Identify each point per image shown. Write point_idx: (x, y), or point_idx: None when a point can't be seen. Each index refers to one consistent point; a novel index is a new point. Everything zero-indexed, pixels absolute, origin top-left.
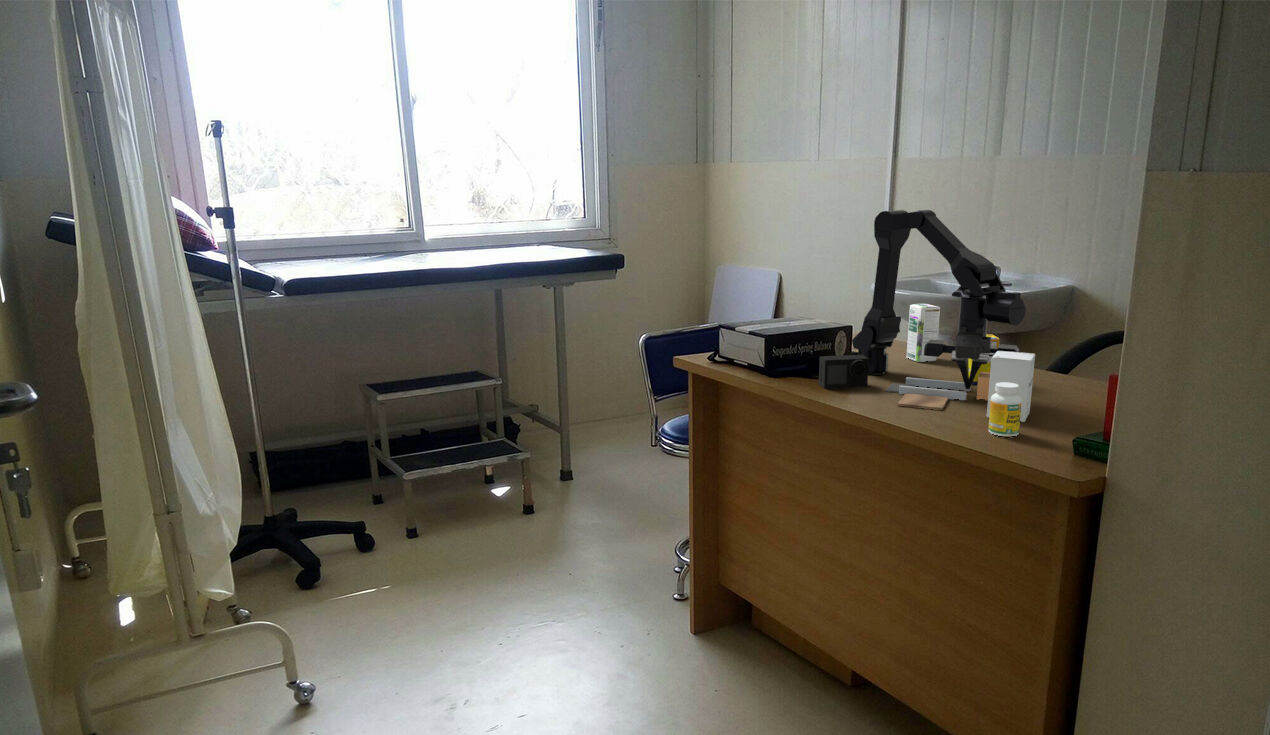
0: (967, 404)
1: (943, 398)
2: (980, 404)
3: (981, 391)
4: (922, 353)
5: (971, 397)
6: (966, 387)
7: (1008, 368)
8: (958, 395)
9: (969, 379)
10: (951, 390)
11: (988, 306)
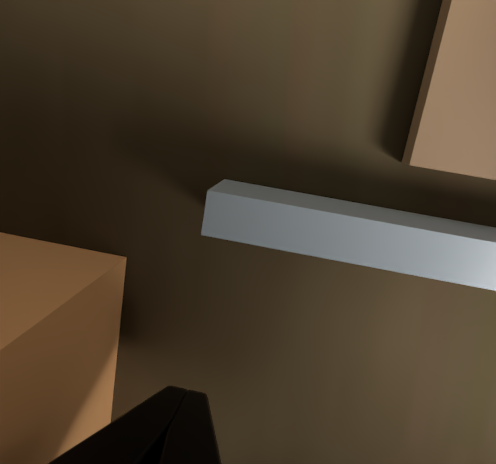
0: (213, 31)
1: (471, 100)
2: (90, 67)
3: (44, 277)
4: None
5: (169, 313)
6: (197, 396)
7: None
8: (295, 199)
9: (133, 450)
10: (378, 261)
11: None
